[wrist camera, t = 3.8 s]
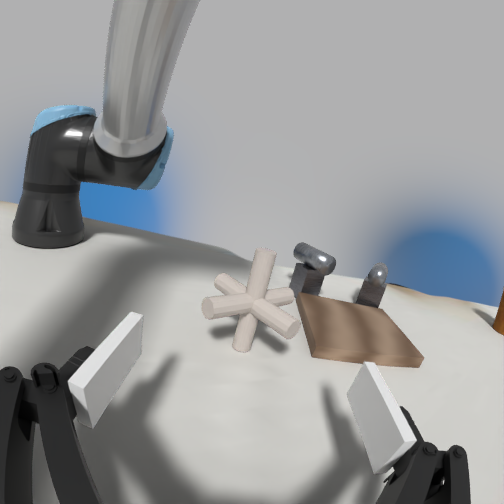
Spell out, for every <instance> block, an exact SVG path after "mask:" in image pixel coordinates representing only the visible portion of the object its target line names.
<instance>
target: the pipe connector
mask: <svg viewBox="0 0 504 504" xmlns="http://www.w3.org/2000/svg"><path fill="white" fill-rule="evenodd" d="M276 254H277V253H276V252H274V251H272V250H269V249H266V248H256V251H255V255H254V259H253V264H252V268H251V272H250V276H249V280H248V284H247V287H246V286H244V285H243V284H241V283H240V282H238V281H237V280H235V279H234V278H232V277H231V276H229V275H227V274H225V273H221V274H219V275H218V276H217V277H216V279H215V281H214V286H215V287H216V288H217V289H218V290H220V291H221V292H222V293H224V294H225V295H222V296H213V297H206V298H204V299H203V301H202V312H203V315H204V316H205V318H206V319H209V320H210V319H216V318H222V317H227V316H233V315H238V314H240V316H239V320H238V324H237V328H236V332H235V336H234V340H233V344H232V346H233V348H234V349H235V350H237V351H240V352H248V351H249V350H250V348H251V344H252V341H253V337H254V334H255V330H256V327H257V323H258V320H260V321H262V322H263V323H265V324H266V325H267V326H269V327H270V328H272V329H273V330H275V331H276V332H277V333H279V334H280V335H282V336H283V337H285V338H286V339H291V338H293V337H294V336H295V335H296V334H297V333H298V331H299V329H300V325H301V323H300V321H299V320H298V319H296V318H295V317H293V316H291V315H290V314H288V313H287V312H285V311H283V310H282V309H280V308H279V307H278V306H283V305H287V304H290V303H292V302H293V300H294V293H293V290H292V289H291V288H289V287H283V288H276V289H269V290H267V288H268V284H269V280H270V277H271V273H272V269H273V266H274V262H275V258H276Z"/></svg>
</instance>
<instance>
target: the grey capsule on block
mask: <svg viewBox="0 0 504 504" xmlns="http://www.w3.org/2000/svg"><path fill="white" fill-rule="evenodd" d="M294 257H295V258H296V259H298V260H299V261H301V262H303V263H304V264H303V263H296V266H295V269H294V273H293V276H292V280H291V283H290V286H289V288H291V289H292V290H293V293H294V297H296V298H297V296H298V293H299V292H302V293H306V294H311V295H316V296H318V295H319V292H320V289H321V286H322V283H323V279H324V276H325V275H329V274H331V273H332V272H333V270H334V268H335V266H336V260H335V258H334V257H332V256H330V255H328V254H326V253H324V252H322V251H320V250H318V249H316V248H314V247H312V246H310V245H308V244H306V243H299V244H298V245H297V246H296V247H295V249H294Z"/></svg>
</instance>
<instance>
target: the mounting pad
mask: <svg viewBox="0 0 504 504" xmlns="http://www.w3.org/2000/svg"><path fill="white" fill-rule="evenodd" d="M296 303H297V306H298V310H299V313H300V316H301V320H302V323H303V327H304V330H305V334H306V338H307V341H308V345H309V348H310V352H311V356H312V357H315V358H322V359H329V360H337V361H345V362H353V363H364V362H374V363H375V364H376V365H385V366H399V367H417V368H419V367H420V365H421V363H422V361H423V359H424V357H423V356H422V354H421V353H420V352H419V351H418V350H417V348H416V347H415V346H414V345H413V344H412V343H411V341H410V340H409V339H408V338H407V337H406V336H405V334H404V333H403V332H402V331H401V330H400V329H399V327H398V326H397V325H396V324H395V323H394V322H393V321H392V319H391V318H390V317H389V316H388V315H387V314H386V313H385V312H384V311H383V309H380V308H374V307H369V306H364V305H359V304H354V303H349V302H344V301H339V300H335V299H330V298H325V297H320V296H316V295H311V294H306V293H302V292H299V293H298V296H297V299H296Z"/></svg>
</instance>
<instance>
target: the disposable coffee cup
mask: <svg viewBox="0 0 504 504" xmlns="http://www.w3.org/2000/svg"><path fill="white" fill-rule="evenodd" d="M493 328H494V329H495V330H496V331H497V332H499V333H500V334H502V335H504V287H503V294H502V298H501V302H500V305H499V308H498V312H497V315H496V318H495V321H494V324H493Z"/></svg>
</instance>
